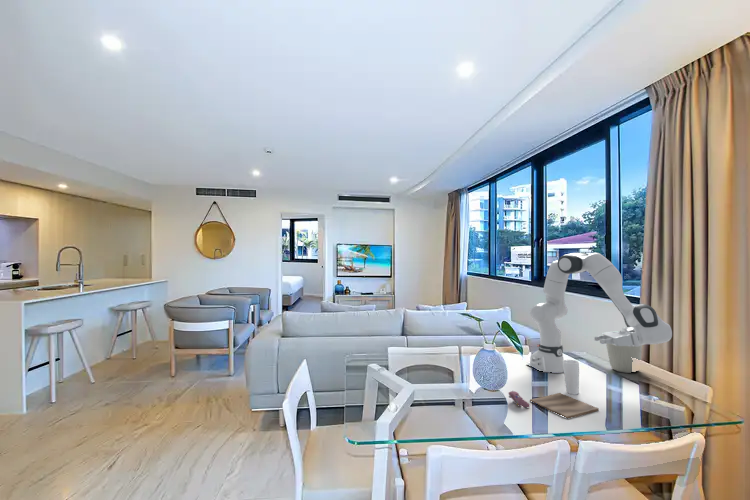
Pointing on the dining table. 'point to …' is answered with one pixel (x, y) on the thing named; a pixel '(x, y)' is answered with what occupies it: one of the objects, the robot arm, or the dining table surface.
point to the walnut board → (564, 405)
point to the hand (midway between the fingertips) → (597, 340)
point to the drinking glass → (571, 376)
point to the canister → (623, 357)
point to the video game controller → (518, 399)
